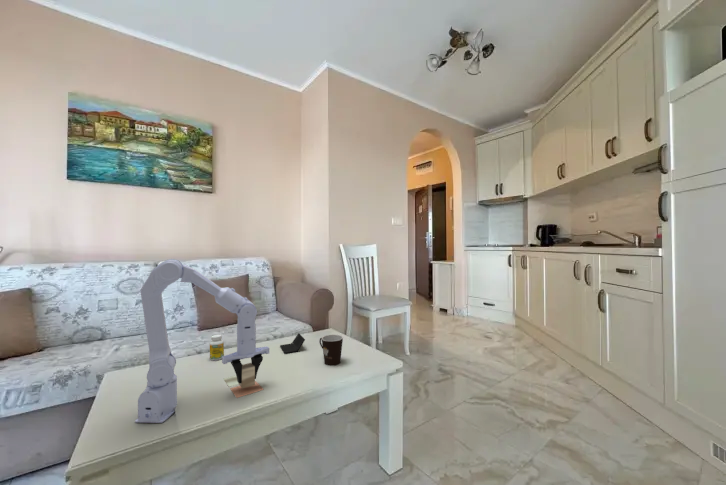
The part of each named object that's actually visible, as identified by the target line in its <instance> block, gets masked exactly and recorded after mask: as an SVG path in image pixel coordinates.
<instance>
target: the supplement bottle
mask: <svg viewBox="0 0 726 485" xmlns="http://www.w3.org/2000/svg"><path fill="white" fill-rule="evenodd" d="M224 343H225V342H224V340H223V336H222V334H214V335H212V336H211V337H210V342H209V360H210V361H212V362H213V361H220V360H222V356H225V348H224V347H225V346H224Z"/></svg>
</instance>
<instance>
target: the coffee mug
mask: <svg viewBox="0 0 726 485" xmlns="http://www.w3.org/2000/svg"><path fill="white" fill-rule="evenodd" d="M343 339H344V337H343V336H342V335H340V334H327V335H324V336H322V337H320V338H319V345H320V348H321V349H322V351H323V360H324V364H325V365H326V366H330V367H331V366H337V365H340V364H341V359H342V349H343V341H344V340H343Z"/></svg>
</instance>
